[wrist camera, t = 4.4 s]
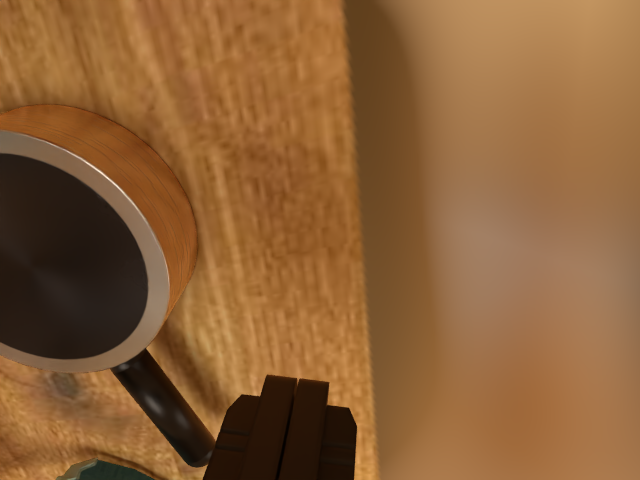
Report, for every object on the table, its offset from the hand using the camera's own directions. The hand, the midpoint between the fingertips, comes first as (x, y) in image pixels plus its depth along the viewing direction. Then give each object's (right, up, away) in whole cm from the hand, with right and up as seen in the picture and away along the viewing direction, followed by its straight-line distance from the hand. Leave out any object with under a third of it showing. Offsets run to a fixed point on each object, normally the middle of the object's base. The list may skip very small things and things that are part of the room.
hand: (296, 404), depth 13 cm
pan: (-7, +2, +8) cm, 11 cm away
